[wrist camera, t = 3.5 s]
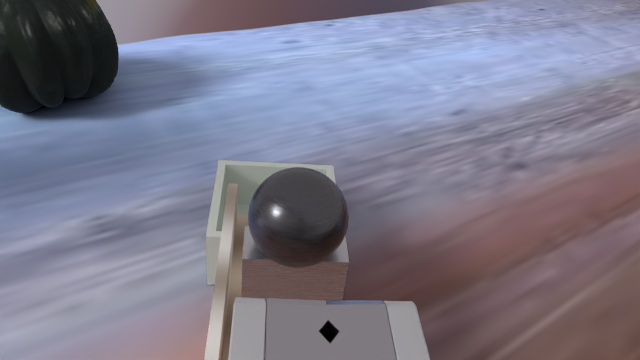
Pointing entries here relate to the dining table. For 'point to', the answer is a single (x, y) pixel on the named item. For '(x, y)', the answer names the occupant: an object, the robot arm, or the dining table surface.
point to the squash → (54, 52)
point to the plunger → (296, 238)
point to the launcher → (226, 278)
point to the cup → (240, 197)
